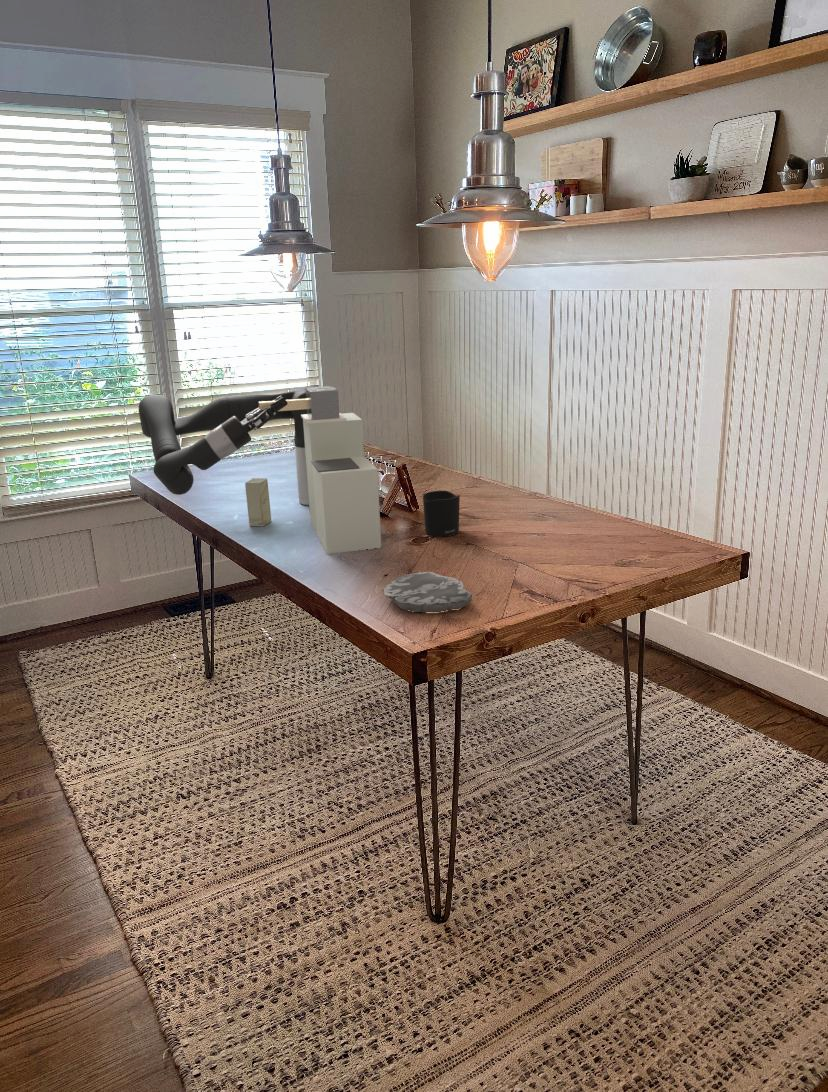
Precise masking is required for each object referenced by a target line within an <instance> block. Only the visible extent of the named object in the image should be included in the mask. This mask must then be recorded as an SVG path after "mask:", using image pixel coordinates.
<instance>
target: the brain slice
mask: <svg viewBox="0 0 828 1092" xmlns="http://www.w3.org/2000/svg"><path fill="white" fill-rule="evenodd" d="M464 587H465V586H464V583H463V581H461V580H458V579H457V578H455V577H451V576H447V575H441V574H437V573H435V572H432V571H419V572H415V573H414V572H413V573H410V574H404V575H401V576H397V577H396V578H395V579H393V580H391V581H390V582H389V584H386V585H385V588H383V590H382V592H383V596H385V597H386V598H388V599H391V601H393V602H394V603H395V605H397V606H398V607H399V608H400V609H402V610H403V609H404V611H406V610H410V611H414V612H423V613H424V612H441V611H446V610H452V609H459V608H461V607H464V606H465V607H466V606H468V605H469V604H470V603H471V601H472V598H473V593H472V592H470V591H469V590H467V589H465V588H464ZM465 607H464V608H465ZM461 609H462V608H461ZM414 612H413V613H414Z"/></svg>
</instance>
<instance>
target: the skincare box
mask: <svg viewBox="0 0 828 1092" xmlns="http://www.w3.org/2000/svg"><path fill="white" fill-rule="evenodd" d="M244 485H245V495H246V497H245V498H246V507H247V514H248V524H249V526H250V527H265V526H266V525H267V524H269V523H270V522H271V521H272V514H271V513H272V510H271V502H270V501H271V500H270V491H269V482H268V478H266V477H265V478H263V477H262V478H259V477H257V478H256V477H255V478H251V479H250V480H248V481H246V482H244Z"/></svg>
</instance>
